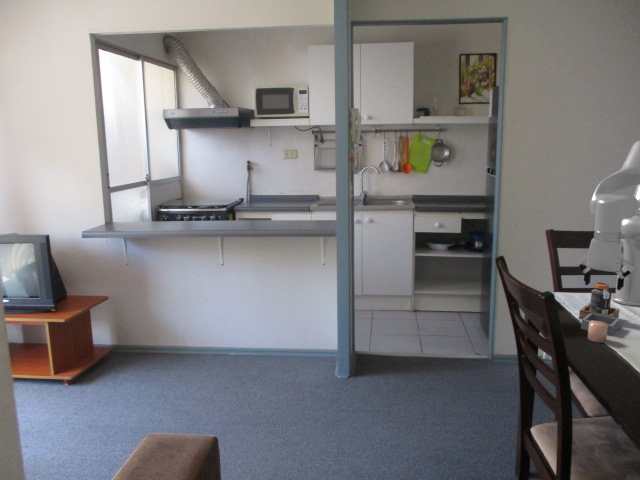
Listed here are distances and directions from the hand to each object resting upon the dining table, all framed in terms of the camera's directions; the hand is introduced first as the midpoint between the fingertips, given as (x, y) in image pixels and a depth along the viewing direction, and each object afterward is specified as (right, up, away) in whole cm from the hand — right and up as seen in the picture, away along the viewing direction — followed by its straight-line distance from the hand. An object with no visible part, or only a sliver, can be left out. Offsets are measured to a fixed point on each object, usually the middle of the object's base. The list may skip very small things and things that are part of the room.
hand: (603, 286), depth 180 cm
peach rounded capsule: (-10, -15, -16) cm, 24 cm away
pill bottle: (-1, -10, +1) cm, 10 cm away
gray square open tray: (-5, -13, -7) cm, 15 cm away
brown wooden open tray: (-1, -11, +1) cm, 11 cm away
